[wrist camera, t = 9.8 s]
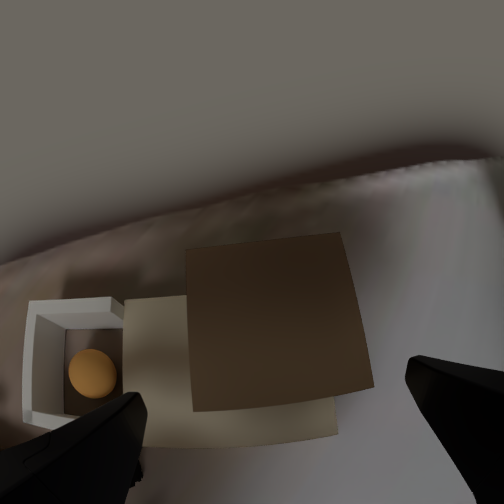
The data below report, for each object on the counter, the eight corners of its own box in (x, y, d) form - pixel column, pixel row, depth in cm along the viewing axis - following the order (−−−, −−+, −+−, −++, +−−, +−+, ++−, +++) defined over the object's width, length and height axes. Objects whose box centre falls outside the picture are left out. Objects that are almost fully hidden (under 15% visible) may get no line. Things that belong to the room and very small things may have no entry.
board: (331, 431, 17) (338, 434, 15) (138, 442, 17) (126, 444, 15) (311, 292, 22) (315, 281, 20) (135, 308, 22) (124, 299, 20)
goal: (135, 314, 21) (111, 296, 18) (137, 435, 17) (111, 440, 14) (57, 317, 21) (29, 300, 18) (55, 423, 17) (23, 422, 13)
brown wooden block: (312, 396, 16) (374, 387, 7) (236, 406, 16) (193, 412, 7) (301, 326, 18) (339, 232, 9) (229, 334, 18) (185, 249, 9)
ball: (70, 387, 18) (114, 392, 19) (67, 402, 15) (119, 407, 16) (70, 342, 19) (115, 348, 20) (66, 350, 16) (119, 356, 17)
